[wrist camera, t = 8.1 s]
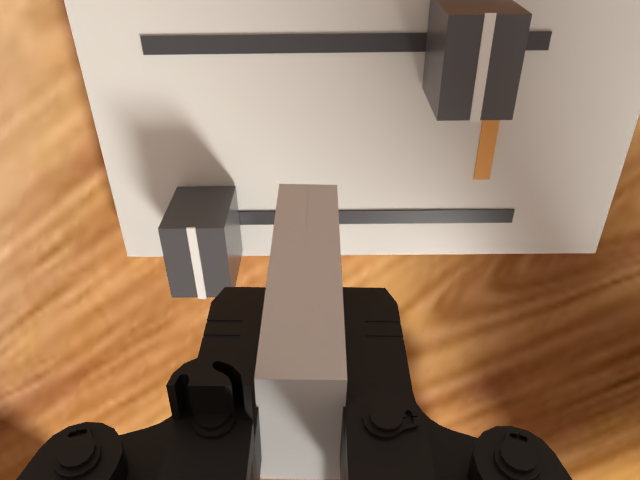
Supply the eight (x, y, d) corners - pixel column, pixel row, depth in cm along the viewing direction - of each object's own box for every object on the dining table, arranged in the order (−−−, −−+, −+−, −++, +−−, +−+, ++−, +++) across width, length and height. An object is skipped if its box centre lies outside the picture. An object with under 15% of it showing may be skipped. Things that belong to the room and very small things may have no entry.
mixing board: (659, -31, 25) (684, -23, 23) (581, 233, 33) (595, 254, 31) (77, -23, 25) (59, -15, 23) (137, 236, 33) (127, 257, 31)
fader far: (235, 185, 28) (223, 228, 25) (242, 251, 31) (232, 298, 27) (176, 185, 28) (157, 228, 25) (188, 251, 31) (171, 299, 27)
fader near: (502, -9, 23) (533, 12, 20) (487, 88, 26) (512, 121, 22) (430, -8, 23) (448, 13, 20) (422, 88, 26) (436, 122, 22)
